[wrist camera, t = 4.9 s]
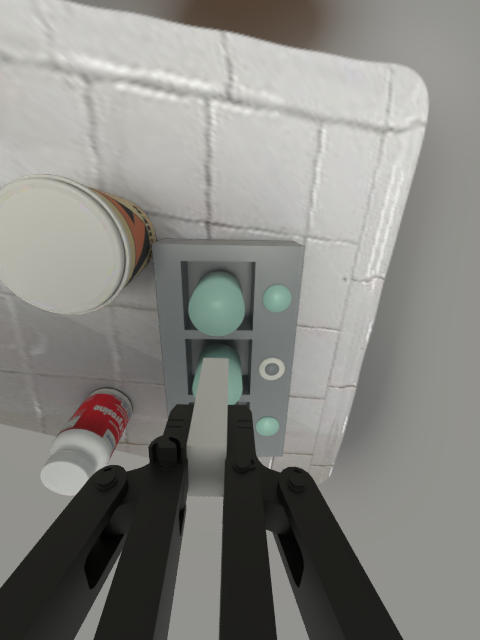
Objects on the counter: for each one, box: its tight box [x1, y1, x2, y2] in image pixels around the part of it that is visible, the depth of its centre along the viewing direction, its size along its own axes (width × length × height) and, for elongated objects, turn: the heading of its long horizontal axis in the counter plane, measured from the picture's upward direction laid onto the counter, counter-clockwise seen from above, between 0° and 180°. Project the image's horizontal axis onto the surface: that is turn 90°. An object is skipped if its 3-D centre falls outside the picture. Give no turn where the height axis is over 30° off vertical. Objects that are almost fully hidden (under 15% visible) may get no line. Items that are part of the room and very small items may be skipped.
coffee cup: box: [0, 174, 156, 315], centre depth 24 cm, size 9×9×12 cm
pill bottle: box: [40, 389, 132, 495], centre depth 32 cm, size 6×6×11 cm
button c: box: [188, 271, 245, 336], centre depth 26 cm, size 5×5×5 cm
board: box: [152, 239, 305, 457], centre depth 32 cm, size 14×26×5 cm, turn 179°
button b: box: [192, 343, 243, 405], centre depth 29 cm, size 5×5×5 cm
